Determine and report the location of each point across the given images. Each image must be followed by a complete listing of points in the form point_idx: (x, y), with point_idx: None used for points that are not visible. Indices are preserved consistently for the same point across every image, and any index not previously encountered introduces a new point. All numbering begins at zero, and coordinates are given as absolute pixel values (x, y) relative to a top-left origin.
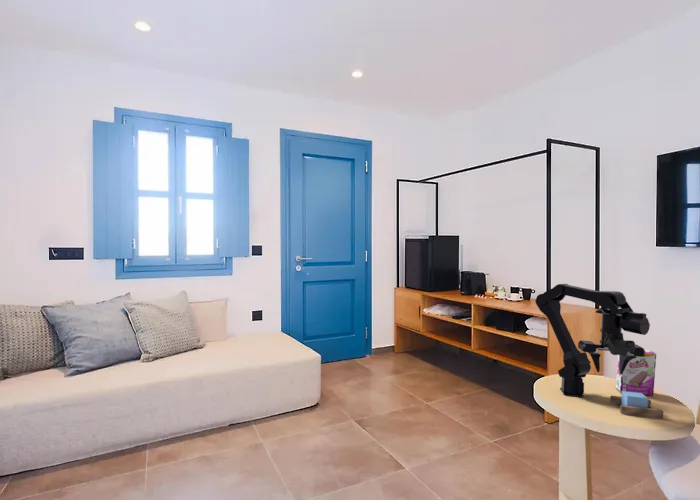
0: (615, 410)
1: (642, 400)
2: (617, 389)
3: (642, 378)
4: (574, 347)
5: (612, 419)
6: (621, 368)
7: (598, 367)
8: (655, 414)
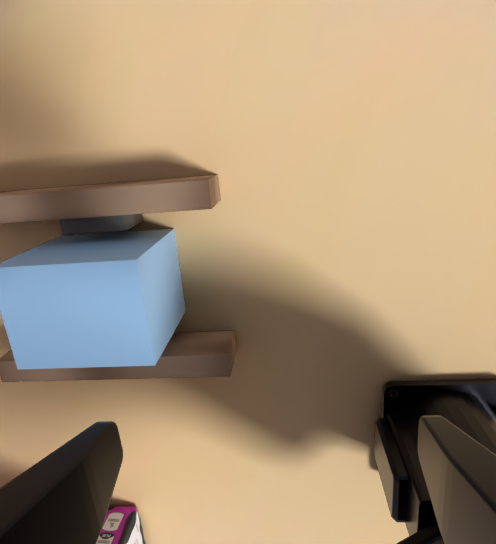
0: (239, 227)
1: (38, 259)
2: (144, 541)
3: None
4: None
5: (311, 35)
6: (61, 490)
7: (484, 467)
8: (10, 193)
